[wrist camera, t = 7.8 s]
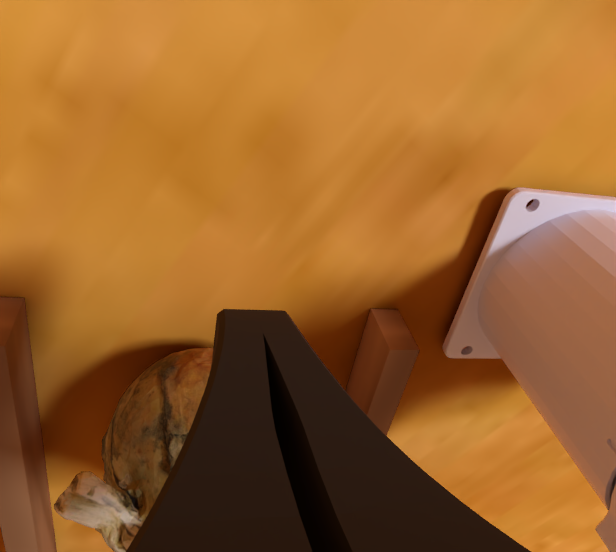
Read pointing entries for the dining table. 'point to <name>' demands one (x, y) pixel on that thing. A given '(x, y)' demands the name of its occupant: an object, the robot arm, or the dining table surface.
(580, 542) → the dining table surface
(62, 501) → the onion
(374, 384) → the cart frame
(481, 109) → the dining table surface
